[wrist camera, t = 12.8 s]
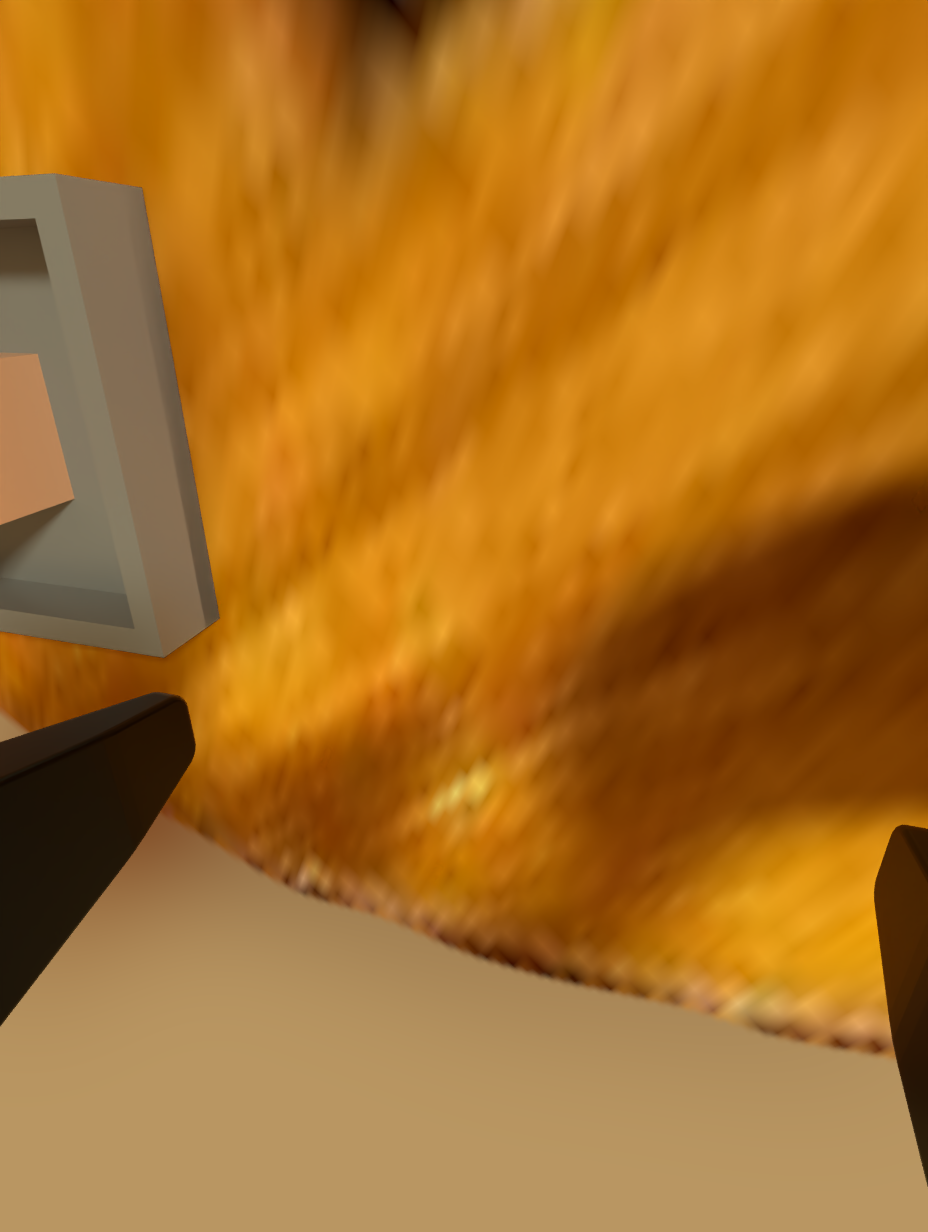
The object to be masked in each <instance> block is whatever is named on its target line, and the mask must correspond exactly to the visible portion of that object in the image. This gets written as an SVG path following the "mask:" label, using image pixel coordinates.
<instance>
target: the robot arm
mask: <svg viewBox="0 0 928 1232" xmlns="http://www.w3.org/2000/svg"><path fill="white" fill-rule="evenodd" d="M195 747H196V744H195V738H194V734H193V729H192V724H191V720H190V715H189V711H188V706H187V703H186V702H185V700H184V699H183V698H182V697H180V696H177V695H172V694H166V693H160V692H154V693H150V694H147V695H144V696H141V697H138V698H135V699H132V700H129V701H125V702H122V703H119V704H116V705H113V706H110V707H107V708H104V709H101V710H98V711H95V712H92V713H89V714H86V715H82V716H79V717H76V718H73V719H70V720H67V721H64V722H61V723H58V724H55V725H52V726H49V727H46V728H43V729H39V730H36V731H33V732H30V733H27V734H24V735H21V736H18V737H15V738H12V739H9V740H6V741H3V742H0V1026H1V1025H2V1024H3V1022H4V1021H5V1020H6V1018H7V1017H8V1015H10V1013H11V1012H12V1010H13V1009H14V1008H15V1007H16V1005H17V1004H18V1003H19V1001H20V1000H21V999H22V998H23V996H24V995H25V994H26V992H27V991H28V990H29V988H30V987H31V986H32V984H33V983H34V982H35V981H36V979H37V978H38V976H39V975H40V974H41V973H42V972H43V970H44V969H45V968H46V966H47V965H48V964H49V962H50V961H51V960H52V959H53V957H54V956H55V955H56V953H57V952H58V951H59V949H60V948H61V947H62V945H63V944H64V943H65V942H66V940H67V939H68V938H69V936H70V935H71V934H72V933H73V931H74V930H75V929H76V927H77V926H78V925H79V923H80V922H81V921H82V920H83V918H84V917H85V916H86V914H87V913H88V912H89V910H90V909H91V908H92V906H93V905H94V904H95V902H96V901H97V900H98V898H99V897H100V896H101V895H102V893H103V892H104V891H105V890H106V888H107V887H108V886H109V884H110V883H111V882H112V880H113V879H114V878H115V877H116V875H117V874H118V873H119V871H120V870H121V869H122V867H123V866H124V865H125V863H126V862H127V861H128V859H129V858H130V857H131V855H132V854H133V852H134V851H135V850H136V848H137V847H138V845H139V844H140V842H141V841H142V839H143V838H144V836H145V835H146V833H147V831H148V830H149V828H150V827H151V825H152V824H153V822H154V820H155V819H156V817H157V816H158V814H159V812H160V811H161V809H162V808H163V806H164V805H165V803H166V801H167V800H168V798H169V797H170V795H171V793H172V792H173V790H174V789H175V787H176V785H177V784H178V782H179V781H180V779H181V778H182V776H183V774H184V773H185V771H186V770H187V768H188V766H189V765H190V763H191V761H192V759H193V757H194V754H195ZM874 902H875V911H876V919H877V927H878V935H879V943H880V950H881V958H882V966H883V974H884V982H885V990H886V998H887V1006H888V1014H889V1021H890V1028H891V1034H892V1041H893V1046H894V1050H895V1055H896V1059H897V1064H898V1068H899V1072H900V1076H901V1080H902V1084H903V1089H904V1092H905V1097H906V1101H907V1105H908V1109H909V1113H910V1117H911V1121H912V1125H913V1129H914V1133H915V1137H916V1141H917V1145H918V1149H919V1153H920V1158H921V1161H922V1166H923V1170H924V1174H925V1178H926V1182H927V1186H928V829H926V828H921V827H915V826H909V825H900V826H898V827H896V828H895V830H894V831H893V832H892V834H891V837H890V840H889V843H888V846H887V848H886V851H885V854H884V857H883V860H882V863H881V866H880V869H879V872H878V875H877V878H876V881H875V888H874Z"/></svg>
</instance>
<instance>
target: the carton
mask: <svg viewBox="0 0 928 1232" xmlns="http://www.w3.org/2000/svg"><path fill="white" fill-rule="evenodd" d="M72 499H75V498H74V494H73V491H72V487H71V483H70V479H69V475H68V471H67V467H66V463H65V459H64V455H63V452H62V448H61V444H60V440H59V436H58V432H57V428H56V424H55V420H54V416H53V412H52V409H51V405H50V401H49V397H48V393H47V389H46V385H45V381H44V377H43V373H42V369H41V366H40V362H39V358H38V354H30V353H0V525H1V524H4V523H7V522H10V521H13V520H15V519H18V518H21V517H24V516H27V515H30V514H32V513H35V512H38V511H41V510H44V509H47V508H49V507H52V506H55V505H58V504H61V503H64V502H66V501H69V500H72Z"/></svg>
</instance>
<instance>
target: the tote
mask: <svg viewBox="0 0 928 1232" xmlns="http://www.w3.org/2000/svg"><path fill="white" fill-rule="evenodd" d="M0 353H30V354H38V358H39V362H40V366H41V369H42V373H43V377H44V381H45V385H46V389H47V393H48V397H49V401H50V405H51V409H52V412H53V416H54V420H55V424H56V428H57V432H58V436H59V440H60V444H61V448H62V452H63V455H64V459H65V463H66V467H67V471H68V475H69V479H70V483H71V487H72V491H73V494H74V498H75V499H72V500H69V501H66V502H64V503H61V504H58V505H55V506H52V507H49V508H47V509H44V510H41V511H38V512H35V513H32V514H30V515H27V516H24V517H21V518H18V519H15V520H13V521H10V522H7V523H4V524H1V525H0V631H2V632H9V633H15V634H21V635H27V636H33V637H39V638H45V639H52V640H58V641H64V642H70V643H76V644H82V645H88V646H95V647H101V648H107V649H113V650H119V651H125V652H131V653H138V654H144V655H150V656H156V657H162V658H164V657H166V656H167V655H169V654H170V653H172V652H173V651H174V650H176V649H177V648H179V647H180V646H181V645H183V644H184V643H186V642H187V641H188V640H190V639H191V638H193V637H194V636H195V635H197V634H198V633H200V632H201V631H202V630H204V629H205V628H207V627H208V626H210V625H211V624H212V623H214V622H215V621H217V620H218V619H219V612H218V607H217V601H216V596H215V590H214V584H213V579H212V573H211V568H210V562H209V557H208V551H207V546H206V540H205V535H204V529H203V524H202V518H201V512H200V507H199V501H198V496H197V490H196V485H195V479H194V474H193V468H192V463H191V457H190V451H189V446H188V440H187V435H186V429H185V424H184V418H183V413H182V407H181V402H180V396H179V391H178V385H177V379H176V374H175V368H174V363H173V357H172V352H171V346H170V341H169V335H168V330H167V324H166V319H165V313H164V307H163V302H162V296H161V291H160V285H159V280H158V274H157V269H156V263H155V258H154V252H153V247H152V241H151V235H150V230H149V224H148V219H147V213H146V208H145V202H144V197H143V191H142V188H140V187H134V186H128V185H122V184H116V183H110V182H103V181H97V180H91V179H85V178H79V177H73V176H67V175H60V174H39V175H23V176H6V177H0Z"/></svg>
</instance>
